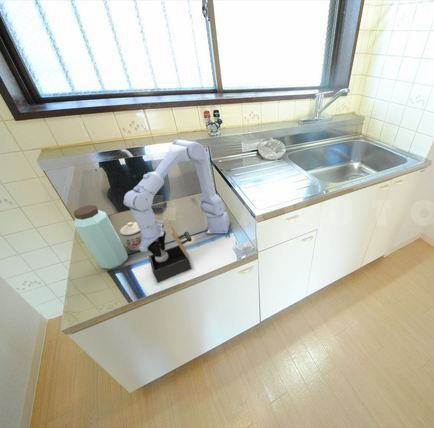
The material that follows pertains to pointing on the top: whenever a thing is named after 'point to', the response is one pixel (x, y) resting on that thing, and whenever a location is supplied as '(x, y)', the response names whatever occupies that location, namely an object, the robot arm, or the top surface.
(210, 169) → the robot arm
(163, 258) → the chess piece
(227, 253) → the top surface
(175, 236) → the tan elongated piece
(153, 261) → the black open-top bin
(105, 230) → the water bottle
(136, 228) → the teacup with lid
